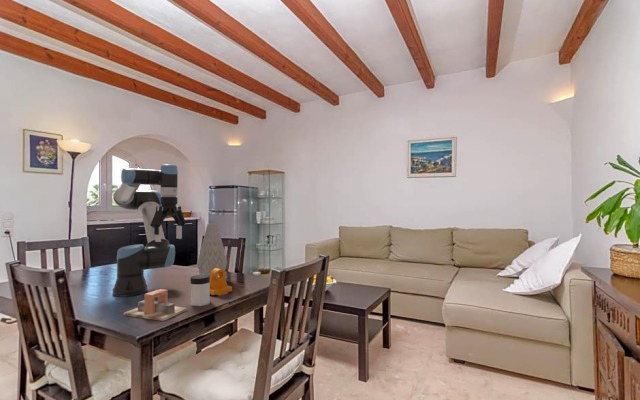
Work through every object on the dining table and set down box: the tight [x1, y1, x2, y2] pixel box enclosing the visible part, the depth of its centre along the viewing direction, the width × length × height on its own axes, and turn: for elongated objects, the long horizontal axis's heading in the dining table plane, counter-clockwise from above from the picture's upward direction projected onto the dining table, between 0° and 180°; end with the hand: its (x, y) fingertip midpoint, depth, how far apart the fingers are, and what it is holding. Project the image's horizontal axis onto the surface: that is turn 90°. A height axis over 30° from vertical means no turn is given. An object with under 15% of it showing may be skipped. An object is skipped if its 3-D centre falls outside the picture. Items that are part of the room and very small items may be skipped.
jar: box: [190, 274, 211, 307], centre depth 148 cm, size 9×8×12 cm
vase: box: [196, 223, 228, 276], centre depth 188 cm, size 17×17×33 cm
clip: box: [143, 288, 169, 314], centre depth 135 cm, size 4×8×8 cm, turn 162°
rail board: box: [123, 299, 188, 322], centre depth 135 cm, size 20×13×4 cm, turn 72°
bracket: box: [210, 268, 233, 296], centre depth 164 cm, size 11×7×12 cm, turn 136°
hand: (168, 240), depth 161 cm, fingers open, 13 cm apart
